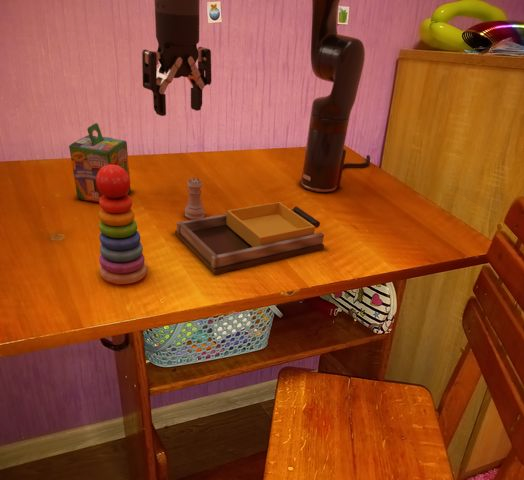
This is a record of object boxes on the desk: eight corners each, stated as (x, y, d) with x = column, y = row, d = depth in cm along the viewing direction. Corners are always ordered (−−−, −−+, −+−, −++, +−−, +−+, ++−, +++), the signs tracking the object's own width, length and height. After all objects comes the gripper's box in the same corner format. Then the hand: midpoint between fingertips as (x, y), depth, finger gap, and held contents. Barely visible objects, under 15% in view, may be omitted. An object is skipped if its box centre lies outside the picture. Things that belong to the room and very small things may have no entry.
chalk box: (115, 206, 106) (107, 135, 97) (75, 199, 107) (64, 128, 98) (132, 191, 113) (127, 123, 104) (95, 185, 114) (86, 117, 105)
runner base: (277, 215, 110) (279, 203, 108) (323, 249, 100) (326, 235, 98) (175, 234, 99) (175, 220, 97) (215, 274, 88) (215, 260, 86)
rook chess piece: (184, 211, 108) (184, 175, 103) (205, 212, 108) (205, 176, 103) (183, 220, 104) (183, 183, 99) (204, 221, 105) (205, 184, 100)
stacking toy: (155, 269, 88) (149, 164, 76) (132, 291, 82) (121, 180, 70) (116, 259, 89) (105, 154, 77) (91, 279, 83) (74, 169, 71)
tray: (290, 212, 109) (292, 199, 107) (325, 237, 101) (328, 223, 99) (225, 224, 101) (226, 210, 100) (259, 252, 93) (260, 237, 91)
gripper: (157, 12, 77) (161, 122, 87) (222, 13, 86) (219, 112, 96) (128, 6, 81) (136, 112, 91) (194, 6, 89) (194, 103, 99)
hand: (178, 112), depth 93 cm, fingers open, 8 cm apart
